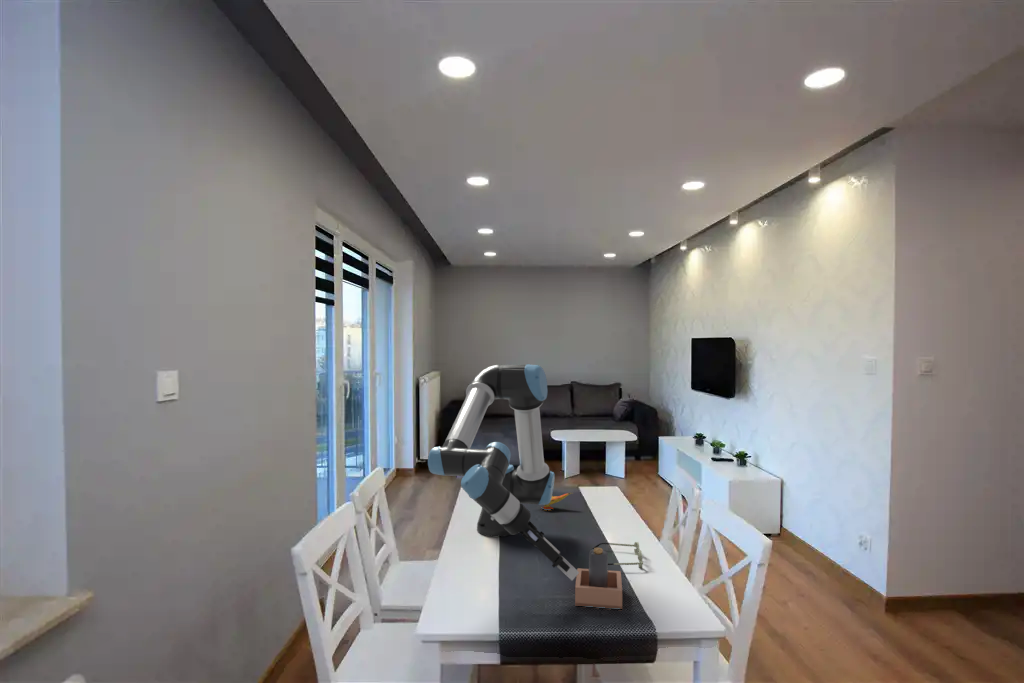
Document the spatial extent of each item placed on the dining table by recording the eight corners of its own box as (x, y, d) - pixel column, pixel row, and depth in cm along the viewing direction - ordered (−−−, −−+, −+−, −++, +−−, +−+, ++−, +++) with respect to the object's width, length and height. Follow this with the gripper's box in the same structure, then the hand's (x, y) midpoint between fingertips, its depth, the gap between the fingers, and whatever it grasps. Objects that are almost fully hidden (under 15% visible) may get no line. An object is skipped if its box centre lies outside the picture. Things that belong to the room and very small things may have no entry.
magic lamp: (573, 511, 219) (573, 484, 219) (529, 510, 220) (528, 483, 220) (573, 506, 225) (573, 480, 225) (529, 505, 227) (529, 479, 227)
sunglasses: (644, 574, 161) (643, 557, 161) (592, 571, 163) (592, 555, 163) (637, 552, 178) (637, 536, 178) (590, 550, 180) (590, 535, 180)
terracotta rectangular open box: (575, 606, 141) (575, 587, 141) (577, 585, 152) (577, 568, 152) (622, 610, 139) (622, 590, 139) (620, 589, 150) (620, 571, 150)
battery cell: (588, 597, 144) (588, 552, 144) (589, 588, 148) (589, 545, 148) (607, 598, 143) (607, 553, 143) (607, 590, 148) (607, 546, 148)
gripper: (489, 510, 150) (540, 558, 154) (513, 542, 126) (573, 598, 130) (508, 489, 152) (558, 537, 156) (535, 517, 128) (594, 573, 132)
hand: (565, 565), depth 143 cm, fingers open, 13 cm apart
